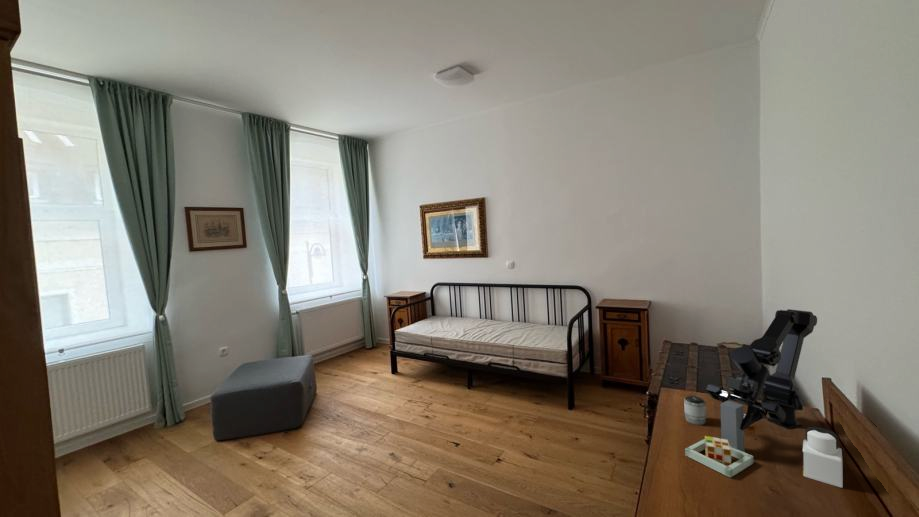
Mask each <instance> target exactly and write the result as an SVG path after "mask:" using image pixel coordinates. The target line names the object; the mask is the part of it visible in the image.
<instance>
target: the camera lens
mask: <svg viewBox="0 0 919 517" xmlns="http://www.w3.org/2000/svg"><path fill="white" fill-rule="evenodd" d="M683 401H684V403H683V404H684V406H683V407H684V417H685V420H686V421H687V423H689V424H692V425H696V426H697V425H698V426H699V425H700V426H702V425H704V424H706V420H707V405H706V404H707V403H706V401H705V400H704V398H701V397H699V396H696V395H689V396H685V397H684V399H683Z"/></svg>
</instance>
